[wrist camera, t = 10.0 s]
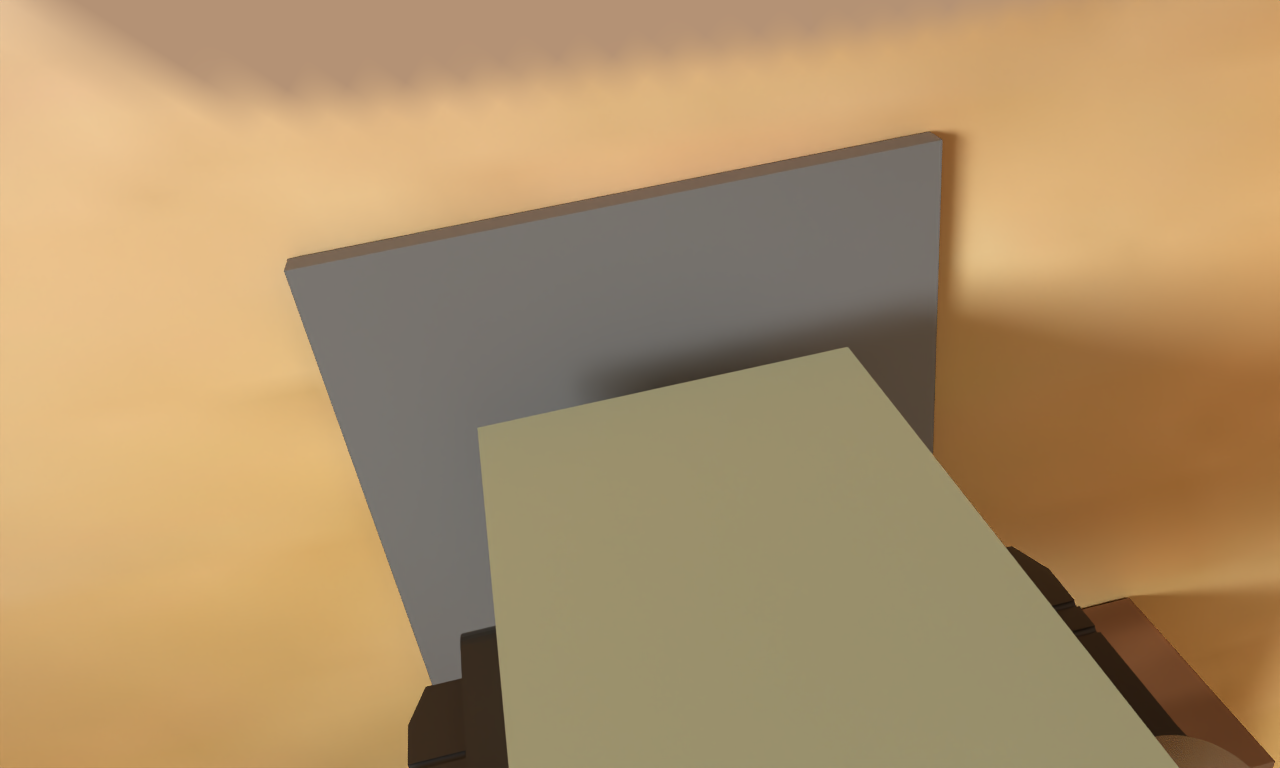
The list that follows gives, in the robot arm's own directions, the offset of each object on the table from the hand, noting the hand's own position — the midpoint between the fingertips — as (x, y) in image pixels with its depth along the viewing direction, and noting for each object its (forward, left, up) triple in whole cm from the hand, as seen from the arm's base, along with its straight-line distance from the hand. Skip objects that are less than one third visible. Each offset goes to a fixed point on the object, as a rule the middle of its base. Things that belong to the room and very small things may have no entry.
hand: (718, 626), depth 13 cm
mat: (0, 0, -4) cm, 4 cm away
